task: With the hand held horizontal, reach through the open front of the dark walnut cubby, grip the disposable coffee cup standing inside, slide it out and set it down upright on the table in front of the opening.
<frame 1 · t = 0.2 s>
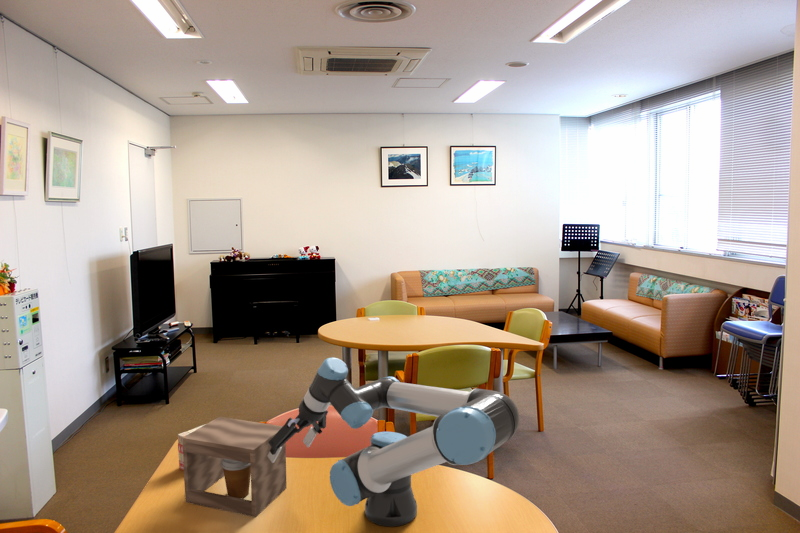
hand: (288, 451, 165), 15 cm above the table, tool tilted 35°, fingers open, 13 cm apart
stack of blocks: (211, 460, 192), on the table
disposable coffee cup: (238, 494, 169), on the table
walnut cubby: (238, 494, 169), on the table
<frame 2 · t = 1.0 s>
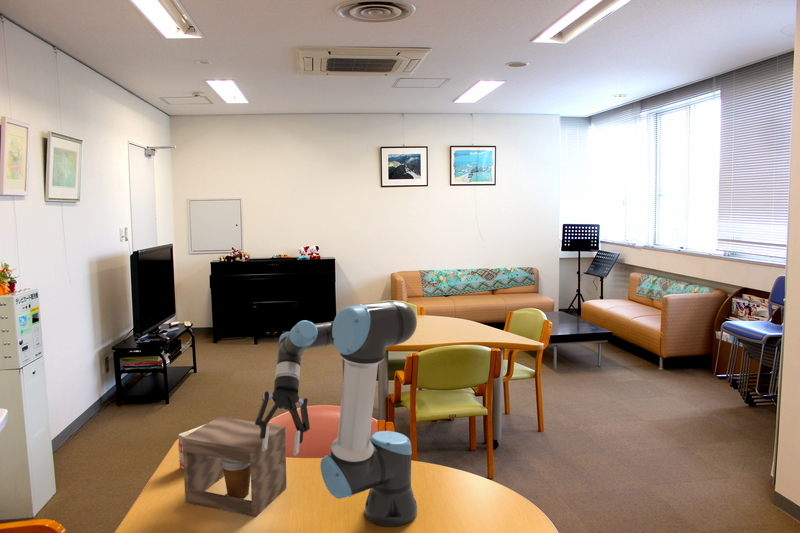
hand: (280, 451, 158), 18 cm above the table, tool tilted 45°, fingers open, 9 cm apart
nothing on the table moved.
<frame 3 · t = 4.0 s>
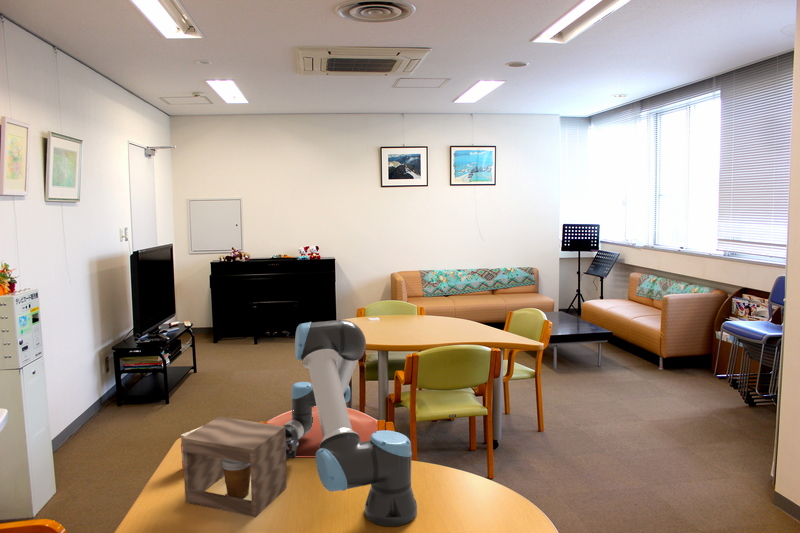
hand: (255, 460, 177), 6 cm above the table, tool horizontal, fingers open, 13 cm apart
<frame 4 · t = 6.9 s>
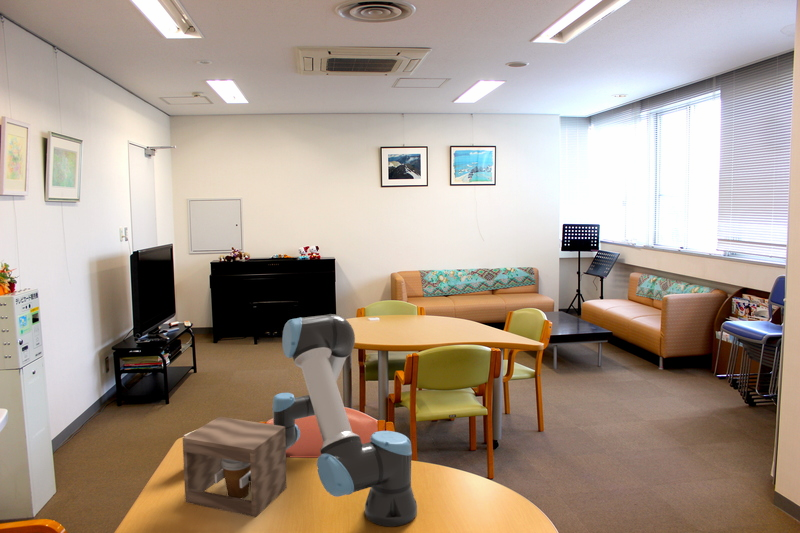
hand: (228, 481, 164), 7 cm above the table, tool horizontal, fingers closed on disposable coffee cup, 8 cm apart
disposable coffee cup: (238, 494, 169), on the table, touching gripper
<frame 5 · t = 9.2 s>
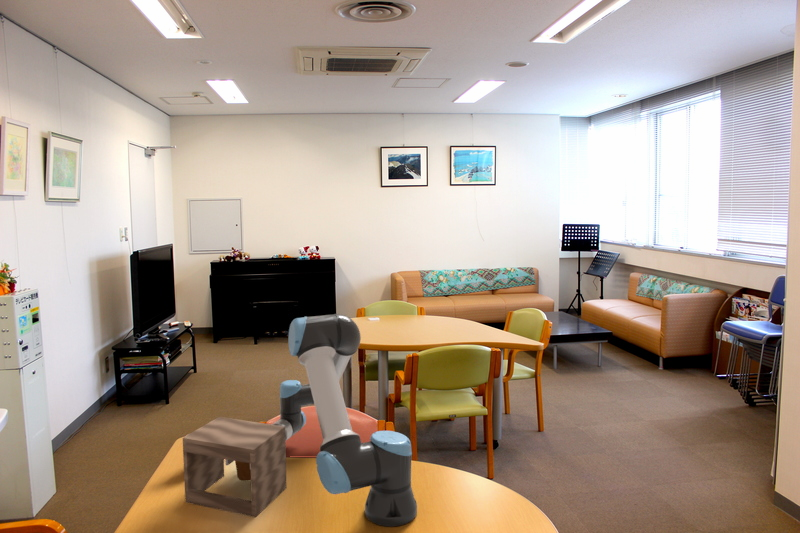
hand: (238, 463, 170), 9 cm above the table, tool horizontal, fingers closed on disposable coffee cup, 8 cm apart
disposable coffee cup: (248, 476, 175), point 2 cm above the table, touching gripper
when the fingers open (7 cm above the table, at t = 11.7 s): disposable coffee cup moves 2 cm, on the table.
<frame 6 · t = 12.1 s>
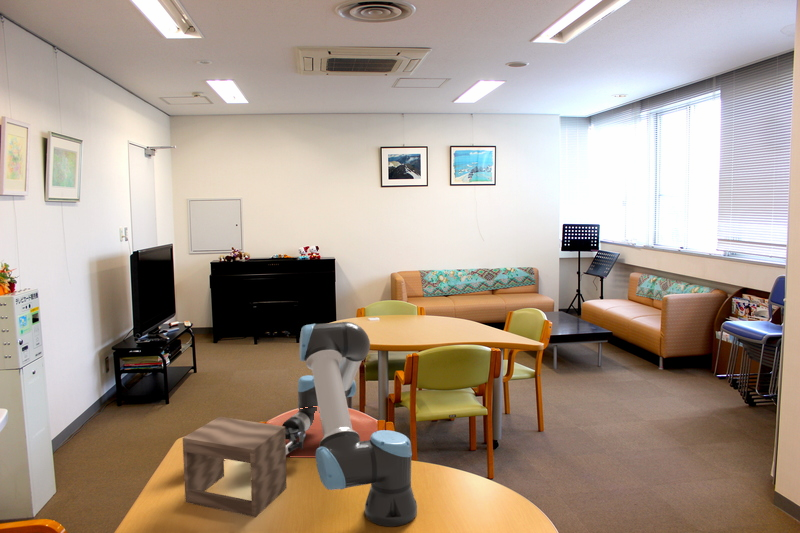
hand: (263, 450, 182), 7 cm above the table, tool horizontal, fingers open, 13 cm apart
disposable coffee cup: (265, 466, 187), on the table
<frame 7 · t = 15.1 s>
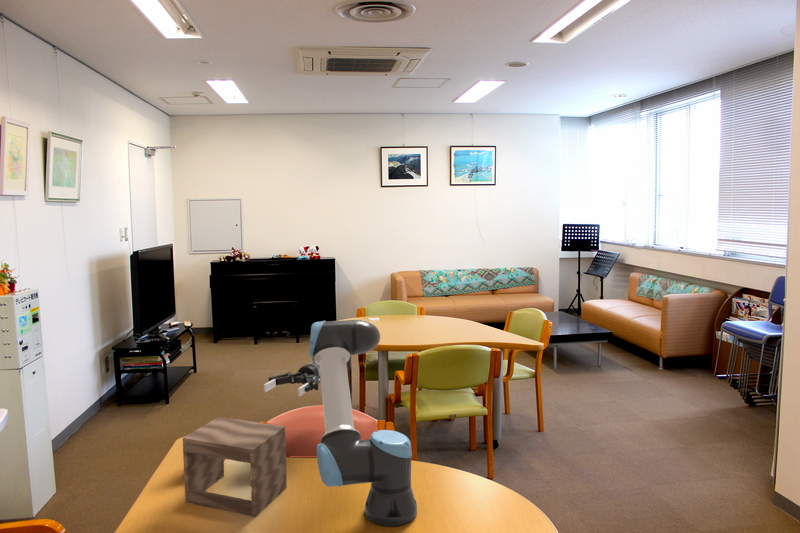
hand: (281, 390, 191), 24 cm above the table, tool horizontal, fingers open, 13 cm apart
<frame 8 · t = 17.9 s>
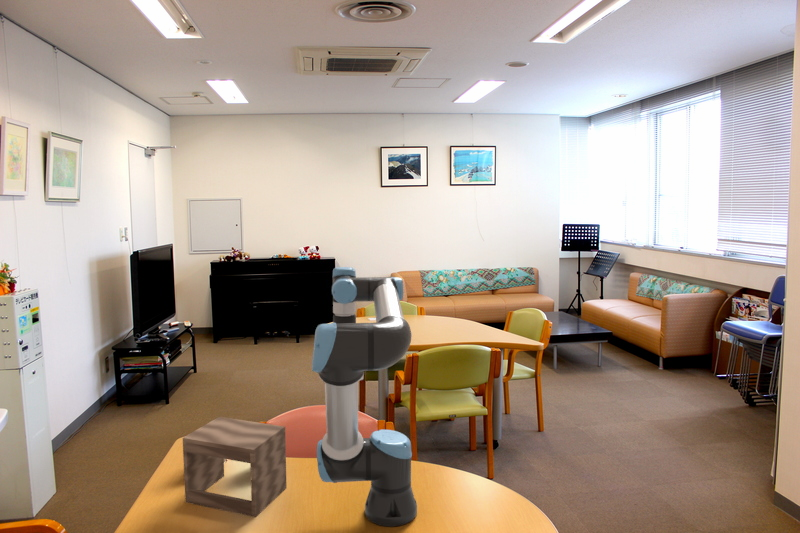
hand: (345, 376, 184), 32 cm above the table, tool pointing down, fingers open, 13 cm apart
at the end: disposable coffee cup inside the target area (2.5 cm from its centre), on the table; disposable coffee cup tilted 0°; the gripper is holding nothing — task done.
